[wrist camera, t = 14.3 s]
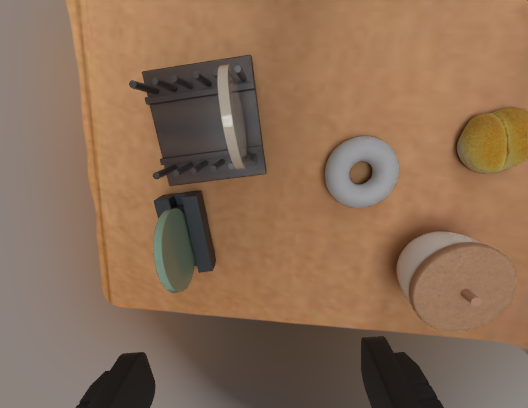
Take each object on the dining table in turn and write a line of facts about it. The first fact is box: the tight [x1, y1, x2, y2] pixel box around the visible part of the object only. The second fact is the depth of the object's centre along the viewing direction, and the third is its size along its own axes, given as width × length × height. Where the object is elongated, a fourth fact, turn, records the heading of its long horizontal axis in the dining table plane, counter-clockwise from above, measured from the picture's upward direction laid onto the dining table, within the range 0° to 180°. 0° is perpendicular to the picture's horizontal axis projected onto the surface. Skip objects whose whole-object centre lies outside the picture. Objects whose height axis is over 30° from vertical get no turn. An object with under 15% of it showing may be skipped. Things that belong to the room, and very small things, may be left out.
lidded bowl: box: [397, 231, 517, 332], centre depth 36 cm, size 13×13×11 cm
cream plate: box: [217, 64, 247, 170], centre depth 29 cm, size 11×1×11 cm, turn 7°
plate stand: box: [154, 191, 216, 272], centre depth 39 cm, size 12×6×3 cm, turn 7°
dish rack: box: [129, 55, 266, 186], centre depth 32 cm, size 15×14×8 cm
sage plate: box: [154, 208, 195, 293], centre depth 35 cm, size 11×1×11 cm, turn 8°
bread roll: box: [457, 107, 528, 174], centre depth 34 cm, size 8×9×4 cm
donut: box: [324, 136, 399, 208], centre depth 36 cm, size 10×4×10 cm
